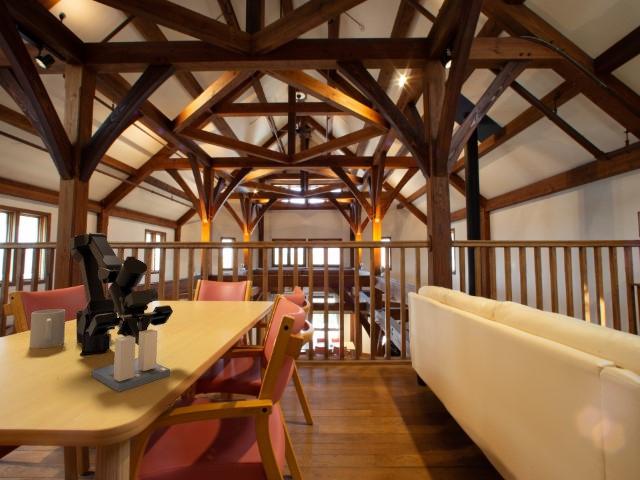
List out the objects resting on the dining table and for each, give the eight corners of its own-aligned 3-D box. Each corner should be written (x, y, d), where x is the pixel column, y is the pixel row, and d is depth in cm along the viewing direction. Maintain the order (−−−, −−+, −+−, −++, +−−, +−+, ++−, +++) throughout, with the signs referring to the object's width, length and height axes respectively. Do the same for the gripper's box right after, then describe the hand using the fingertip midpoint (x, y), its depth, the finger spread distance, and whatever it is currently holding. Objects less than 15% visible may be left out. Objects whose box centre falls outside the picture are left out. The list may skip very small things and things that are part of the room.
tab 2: (137, 368, 75) (139, 331, 76) (150, 364, 78) (151, 329, 78) (143, 371, 73) (145, 333, 74) (156, 367, 76) (157, 331, 76)
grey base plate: (91, 376, 75) (92, 369, 75) (140, 362, 84) (140, 356, 84) (118, 392, 66) (119, 384, 66) (169, 375, 76) (170, 368, 76)
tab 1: (113, 378, 69) (115, 338, 70) (128, 374, 72) (129, 335, 72) (119, 381, 67) (121, 340, 68) (134, 377, 70) (135, 337, 70)
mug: (29, 344, 100) (31, 310, 100) (63, 339, 105) (65, 307, 106) (28, 353, 91) (30, 316, 91) (65, 347, 97) (67, 313, 97)
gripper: (95, 281, 73) (113, 334, 66) (170, 277, 88) (191, 320, 81) (81, 311, 77) (97, 364, 70) (155, 301, 92) (174, 344, 86)
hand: (144, 346), depth 77 cm, fingers closed, pressing on tab 2
